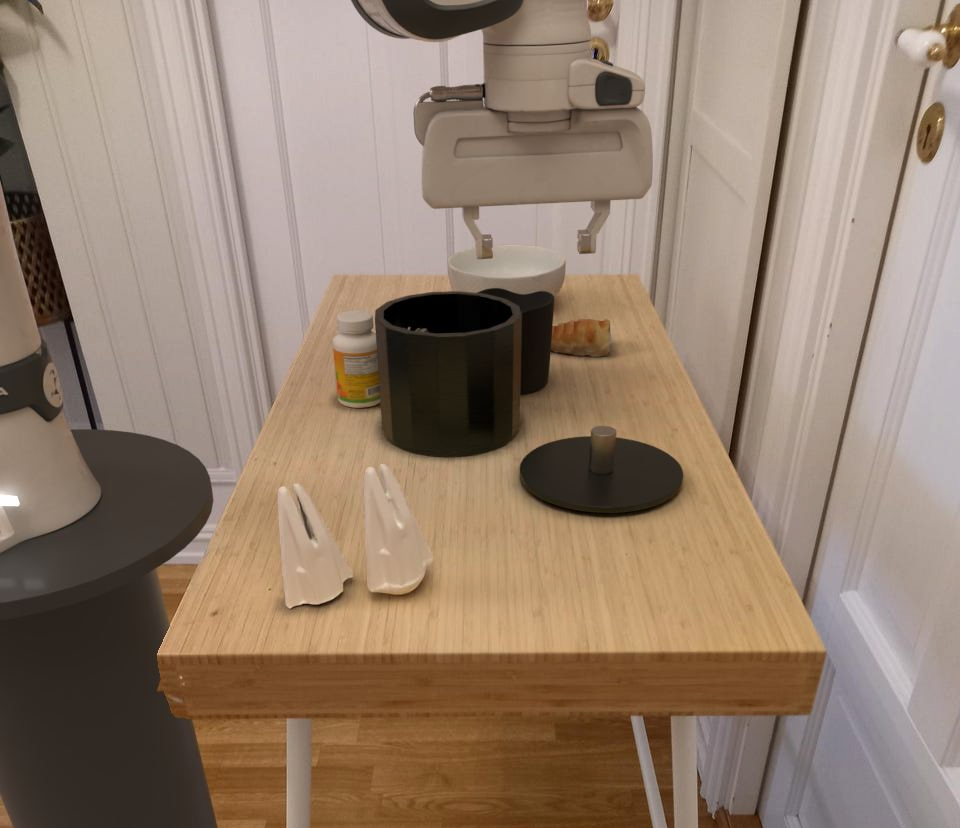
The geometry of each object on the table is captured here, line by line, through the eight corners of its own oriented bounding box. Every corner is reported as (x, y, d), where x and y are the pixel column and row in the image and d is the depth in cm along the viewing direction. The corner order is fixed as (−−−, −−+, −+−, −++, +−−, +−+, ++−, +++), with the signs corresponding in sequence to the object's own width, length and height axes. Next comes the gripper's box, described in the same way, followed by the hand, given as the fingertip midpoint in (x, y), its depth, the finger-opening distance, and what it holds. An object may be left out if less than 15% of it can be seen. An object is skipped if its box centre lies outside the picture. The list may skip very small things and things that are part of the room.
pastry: (537, 355, 124) (538, 326, 122) (540, 339, 129) (541, 310, 127) (611, 358, 123) (613, 328, 121) (611, 341, 128) (613, 312, 126)
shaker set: (434, 574, 81) (429, 451, 74) (436, 601, 77) (431, 475, 71) (289, 581, 80) (271, 458, 73) (285, 609, 76) (266, 482, 70)
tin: (382, 459, 99) (373, 338, 92) (383, 404, 111) (376, 293, 104) (525, 454, 100) (528, 333, 92) (511, 400, 112) (513, 289, 104)
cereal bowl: (440, 296, 146) (439, 246, 141) (548, 289, 148) (549, 240, 144) (459, 331, 132) (458, 278, 128) (577, 323, 134) (579, 271, 130)
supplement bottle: (341, 391, 114) (334, 308, 109) (387, 391, 114) (381, 308, 109) (334, 408, 110) (326, 323, 104) (381, 409, 110) (375, 323, 104)
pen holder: (520, 363, 122) (521, 281, 116) (567, 385, 115) (571, 300, 109) (458, 379, 117) (456, 295, 112) (503, 403, 111) (503, 315, 105)
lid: (529, 522, 88) (530, 469, 85) (512, 449, 101) (512, 401, 98) (700, 515, 89) (707, 463, 86) (661, 443, 102) (666, 396, 99)
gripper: (412, 91, 77) (423, 270, 85) (664, 81, 78) (651, 258, 87) (410, 82, 82) (420, 251, 91) (647, 72, 84) (636, 240, 92)
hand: (535, 255), depth 89 cm, fingers open, 8 cm apart
